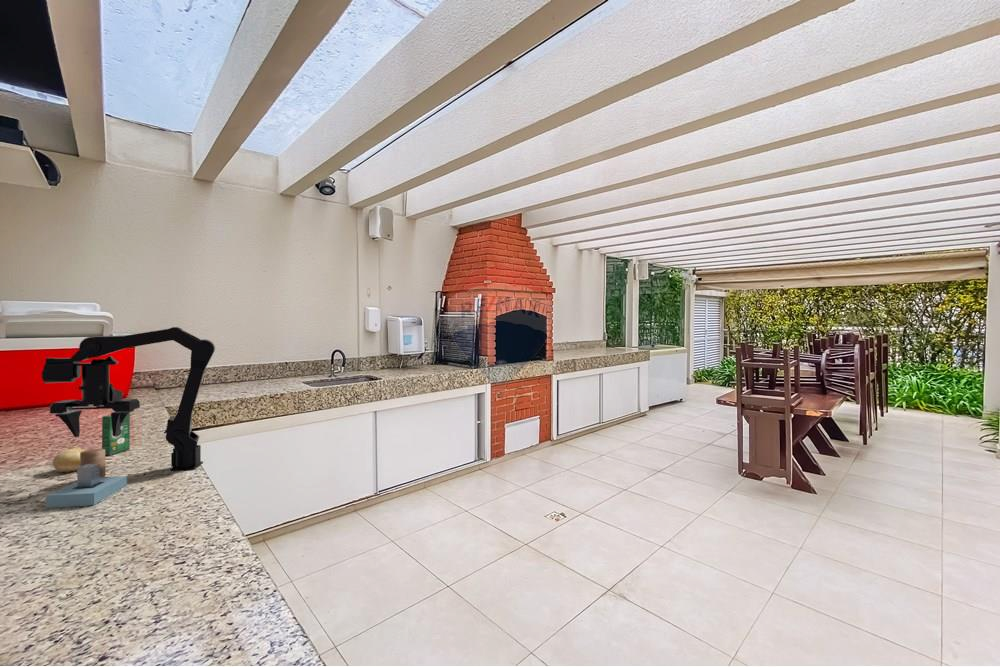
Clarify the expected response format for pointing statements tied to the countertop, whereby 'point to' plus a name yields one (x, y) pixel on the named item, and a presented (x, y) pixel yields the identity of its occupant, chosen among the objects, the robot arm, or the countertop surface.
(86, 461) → the round peg
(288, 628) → the countertop surface
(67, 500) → the socket board
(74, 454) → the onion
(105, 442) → the coffee box
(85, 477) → the square peg
